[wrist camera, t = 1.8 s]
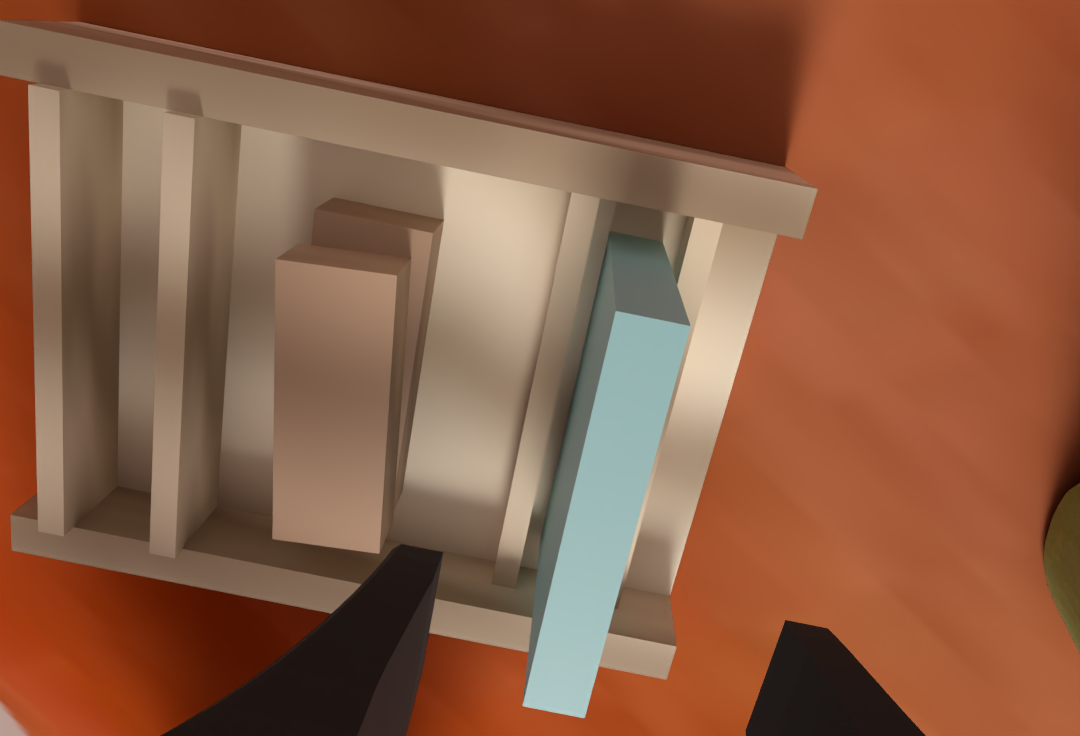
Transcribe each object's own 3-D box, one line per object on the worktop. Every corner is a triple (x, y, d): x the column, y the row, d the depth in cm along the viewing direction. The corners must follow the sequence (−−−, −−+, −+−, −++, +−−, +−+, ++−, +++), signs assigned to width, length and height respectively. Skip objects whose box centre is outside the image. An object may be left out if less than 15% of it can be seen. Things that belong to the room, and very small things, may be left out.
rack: (657, 603, 24) (667, 691, 21) (81, 489, 24) (1, 560, 20) (785, 167, 19) (823, 192, 16) (80, 22, 19) (-22, 19, 16)
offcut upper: (393, 520, 21) (379, 553, 19) (293, 506, 21) (272, 539, 19) (410, 257, 18) (397, 275, 17) (298, 243, 18) (275, 259, 17)
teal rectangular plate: (587, 545, 22) (584, 718, 16) (540, 536, 22) (522, 705, 16) (662, 241, 19) (690, 326, 14) (609, 230, 19) (616, 310, 14)
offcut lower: (402, 490, 22) (389, 520, 21) (304, 471, 22) (286, 499, 20) (444, 220, 19) (433, 233, 18) (333, 197, 19) (314, 209, 18)
